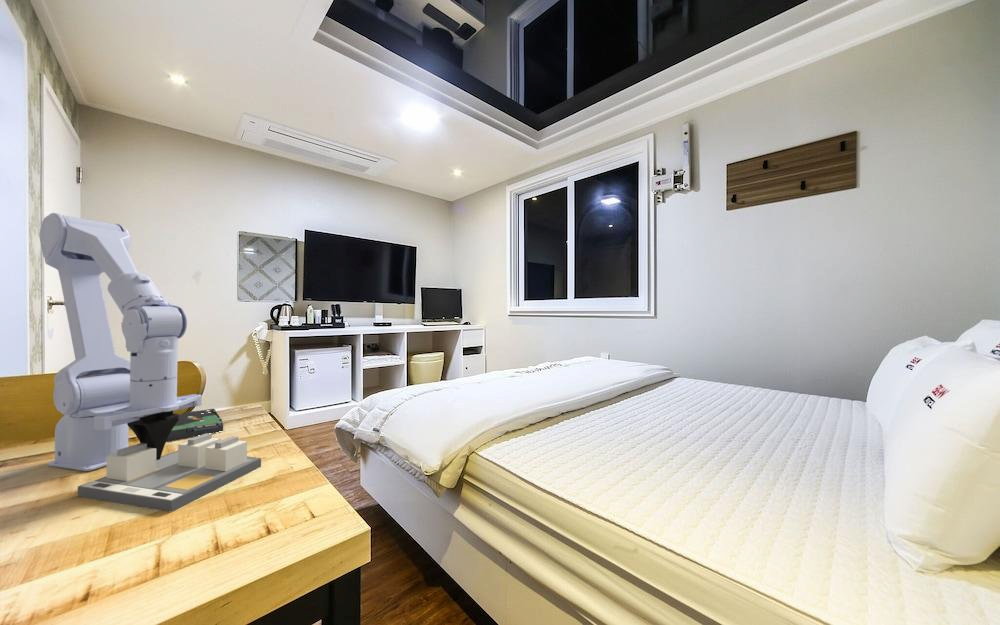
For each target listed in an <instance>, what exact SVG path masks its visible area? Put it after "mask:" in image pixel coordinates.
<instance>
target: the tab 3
mask: <svg viewBox="0 0 1000 625" xmlns="http://www.w3.org/2000/svg"><path fill="white" fill-rule="evenodd" d="M247 456H248V441H247V440H245V441H244V440H239V436H234V435H233V436H230V437H227V438H224V439H221V441H219V442H216V443H215V444H214V445H211V446H209V447H206V452H205V469H211V470H218V471H228V470H230V469H232V468H234V467H236V466H238V465H240V464H242V463H245V462H247Z"/></svg>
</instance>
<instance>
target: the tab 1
mask: <svg viewBox="0 0 1000 625" xmlns="http://www.w3.org/2000/svg"><path fill="white" fill-rule="evenodd" d="M105 468H106V474H105V475H106V478H109V479H116V480H123V481H129V480H131V479H134V478H136V477H139V476H141V475H144V474H147V473H149V472H152V471H154V470H156V448H148V447H147V444H146V443H140V442H139V443H137V444H136V443H135V444H133V445H130V446H129V445H128V447H126V448H123V449H120V450H117V452H116V453H113V454H110V455H107V465H106V466H105Z"/></svg>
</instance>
